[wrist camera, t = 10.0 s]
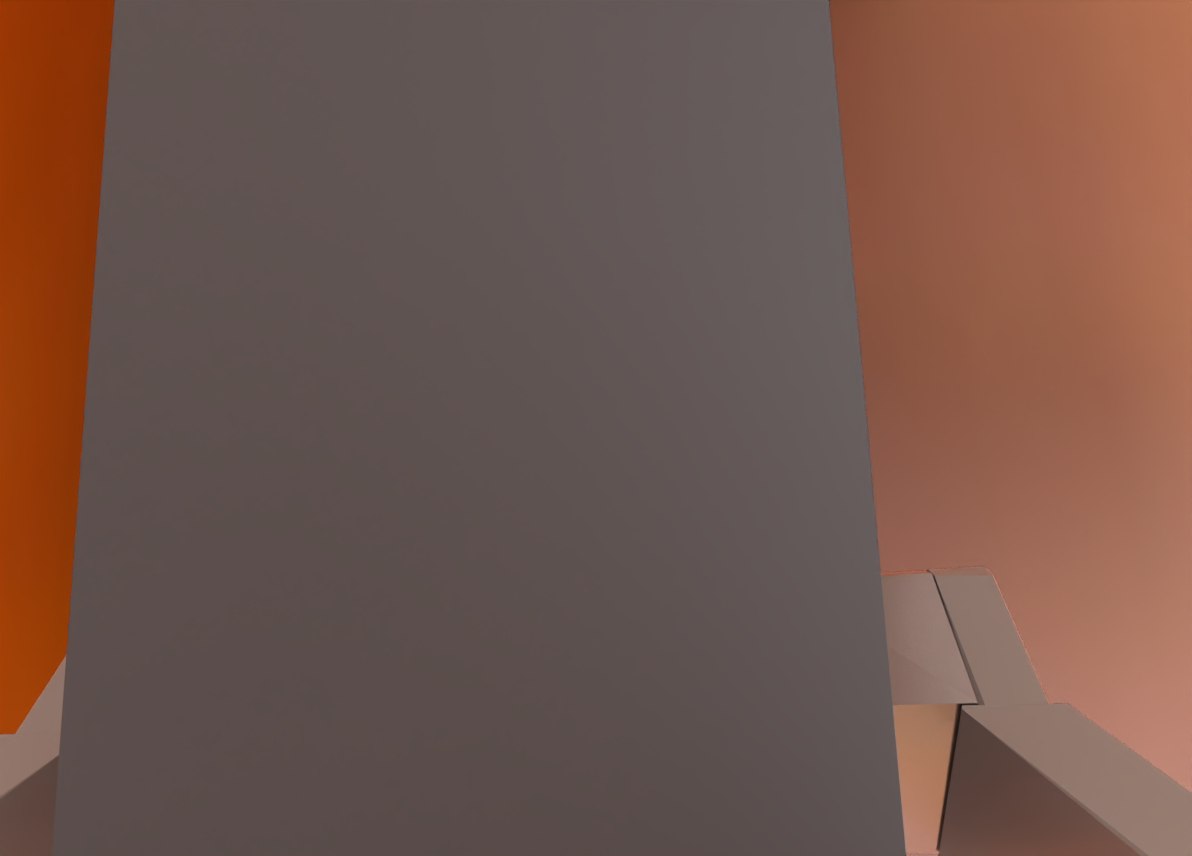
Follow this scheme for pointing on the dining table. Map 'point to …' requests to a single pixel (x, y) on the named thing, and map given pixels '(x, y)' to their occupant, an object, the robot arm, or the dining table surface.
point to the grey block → (475, 440)
